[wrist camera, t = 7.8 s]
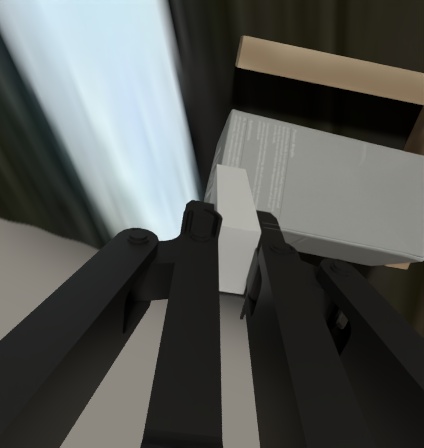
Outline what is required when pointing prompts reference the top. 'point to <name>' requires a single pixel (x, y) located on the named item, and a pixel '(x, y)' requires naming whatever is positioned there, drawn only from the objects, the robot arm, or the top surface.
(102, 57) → the top surface
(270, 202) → the skincare box
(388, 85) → the u rest
